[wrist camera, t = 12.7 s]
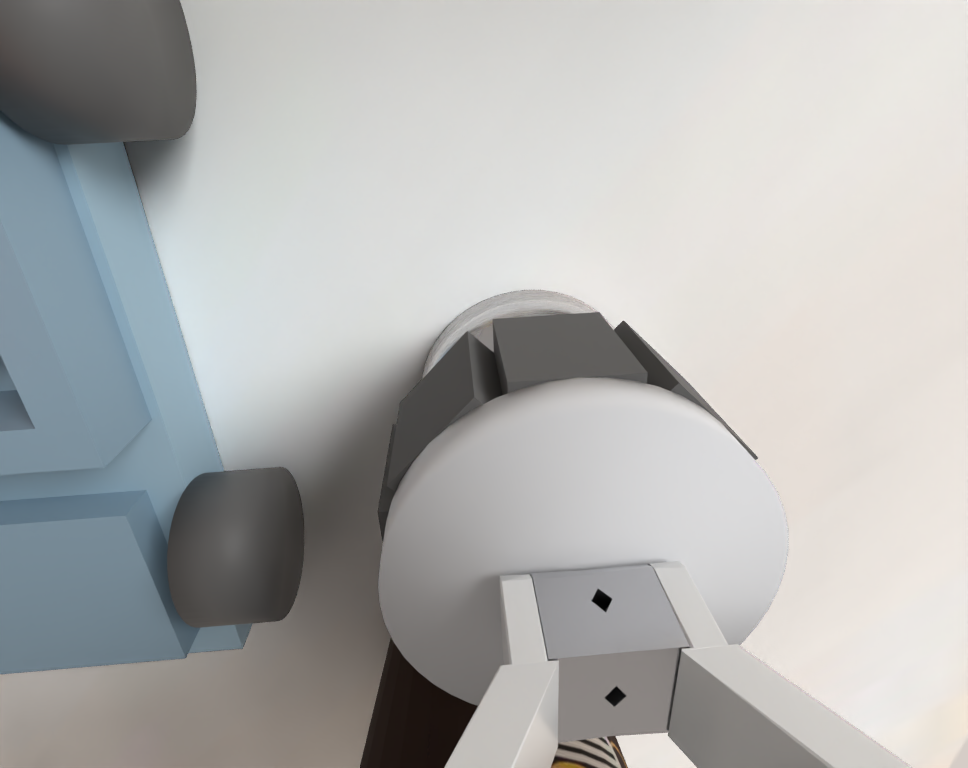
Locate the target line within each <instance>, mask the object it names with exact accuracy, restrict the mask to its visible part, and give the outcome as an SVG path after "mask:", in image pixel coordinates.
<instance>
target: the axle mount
mask: <svg viewBox="0 0 968 768" xmlns="http://www.w3.org/2000/svg"><path fill="white" fill-rule="evenodd" d="M592 312H597V311H596V310H595V309H594V308H592V307H590V306H589V305H587V304H585V303H584V302H582V301H580V300H577V299H575V298H573V297H570V296H568V295H564V294H560V293H557V292H551V291H544V290H522V291H514V292H508V293H504V294H500V295H497V296H494V297H491V298H489V299H486V300H484V301H481V302H480V303H478V304H476V305H474V306H472V307H471V308H469V309H467V310H466V311H465V312H463V313H462V314H461V315H459V316H458V317H457V318H456V319H455V320H454V321H453V322H452V323H450V324H449V325H448V326H447V327H446V329H445V330H444V331H443V332H442V334H441V335H440V336H439V337H438V339H437V341H436V342H435V344H434V346H433V347H432V349H431V351H430V353H429V356H428V358H427V360H426V363H425V367H424V371H423V375H422V379H423V378H424V377H425V376H426V375H427V373H428V372H429V371H430V370H431V369H432V368H433V367H434V366H435V365H436V364H437V363H438V362H439V361H440V360H441V358H442V357H443V356H444V355H445V354H446V353H447V352H448V351H449V350H450V349H451V348H452V347H453V346H454V345H455V343H456V342H457V341H458V340H459V339H460V338H461V337H462V336H463V335H464V334H465V333H466V332H467V331H468V332H470V333H471V334H472V335H473V336H474V337H476V338H477V339H478V340H479V341H480V342H482V343H483V344H484V345H485V346H486V347H488V348H489V349H490V350H491V351H493V352H494V344H493V320H492V319H500V318H515V317H530V316H546V315H561V314H576V313H592ZM603 318H604V317H603ZM604 319H605V318H604ZM605 320H606V319H605ZM606 321H607V320H606ZM607 323H608V324H609V325H610V326H611V328H612V329H613V330H614V328H613V326H612V325H611V324H610V323H609V322H608V321H607Z"/></svg>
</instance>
